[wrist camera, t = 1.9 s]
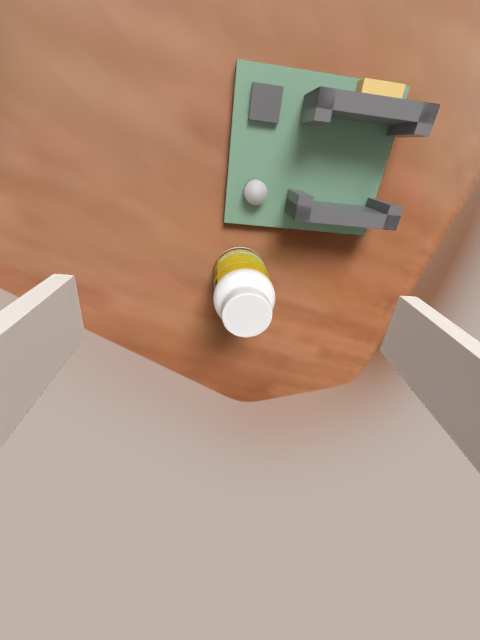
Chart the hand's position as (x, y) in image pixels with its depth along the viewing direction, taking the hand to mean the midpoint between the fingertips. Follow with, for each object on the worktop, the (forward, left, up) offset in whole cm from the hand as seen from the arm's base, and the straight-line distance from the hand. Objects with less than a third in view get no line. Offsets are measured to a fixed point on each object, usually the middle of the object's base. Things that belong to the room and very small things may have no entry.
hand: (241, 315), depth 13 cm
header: (+10, +6, -19) cm, 22 cm away
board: (+7, +6, -19) cm, 21 cm away
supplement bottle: (+2, -5, -20) cm, 20 cm away
